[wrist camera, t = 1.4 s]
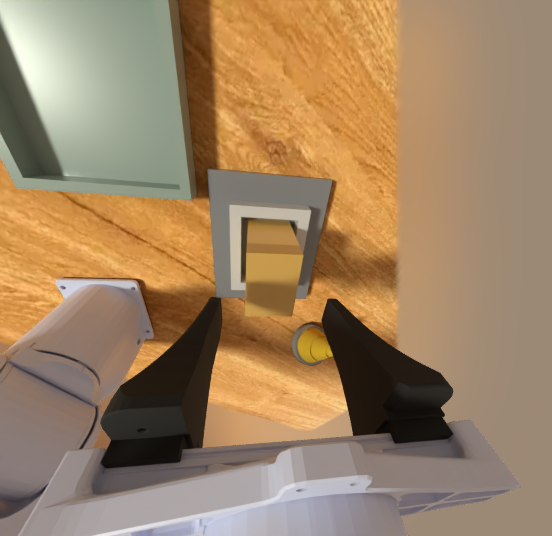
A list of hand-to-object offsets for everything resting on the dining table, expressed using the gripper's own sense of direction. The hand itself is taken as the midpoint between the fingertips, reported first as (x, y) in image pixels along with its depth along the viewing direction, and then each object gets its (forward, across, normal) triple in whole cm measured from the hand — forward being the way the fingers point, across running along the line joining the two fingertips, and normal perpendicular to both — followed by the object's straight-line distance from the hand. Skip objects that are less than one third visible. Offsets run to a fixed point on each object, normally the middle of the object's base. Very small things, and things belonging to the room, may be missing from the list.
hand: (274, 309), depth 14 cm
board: (+10, 0, 0) cm, 10 cm away
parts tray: (+10, +13, -11) cm, 20 cm away
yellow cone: (+10, -7, +13) cm, 18 cm away
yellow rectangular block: (+9, 0, 0) cm, 9 cm away
